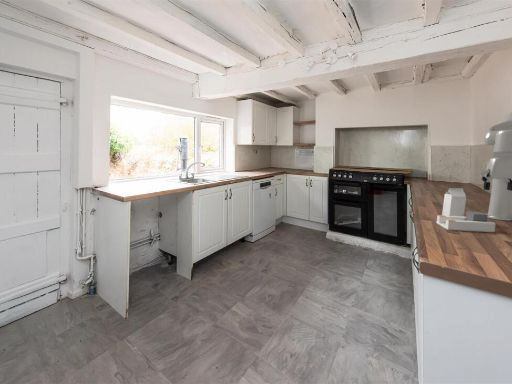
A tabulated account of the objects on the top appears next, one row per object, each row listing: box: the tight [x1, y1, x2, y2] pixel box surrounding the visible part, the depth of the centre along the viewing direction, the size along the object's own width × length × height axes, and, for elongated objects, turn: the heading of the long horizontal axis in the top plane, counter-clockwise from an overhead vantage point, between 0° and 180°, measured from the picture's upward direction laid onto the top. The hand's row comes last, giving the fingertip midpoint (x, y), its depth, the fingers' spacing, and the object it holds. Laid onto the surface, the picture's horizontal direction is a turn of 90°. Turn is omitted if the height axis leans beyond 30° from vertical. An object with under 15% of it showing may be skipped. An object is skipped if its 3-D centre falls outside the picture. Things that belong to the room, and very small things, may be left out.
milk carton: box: [441, 187, 467, 217], centre depth 136 cm, size 7×7×19 cm
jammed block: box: [465, 211, 488, 222], centre depth 124 cm, size 6×6×7 cm
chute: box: [436, 214, 496, 233], centre depth 125 cm, size 20×12×5 cm, turn 77°
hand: (498, 190), depth 119 cm, fingers open, 9 cm apart
